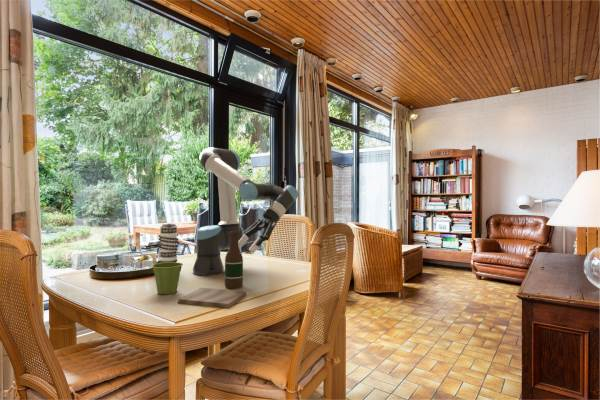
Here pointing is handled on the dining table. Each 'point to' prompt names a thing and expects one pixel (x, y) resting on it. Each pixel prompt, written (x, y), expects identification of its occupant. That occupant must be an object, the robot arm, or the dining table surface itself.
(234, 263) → the beer bottle
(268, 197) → the robot arm
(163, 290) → the plant pot
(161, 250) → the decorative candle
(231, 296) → the walnut board
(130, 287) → the dining table surface
